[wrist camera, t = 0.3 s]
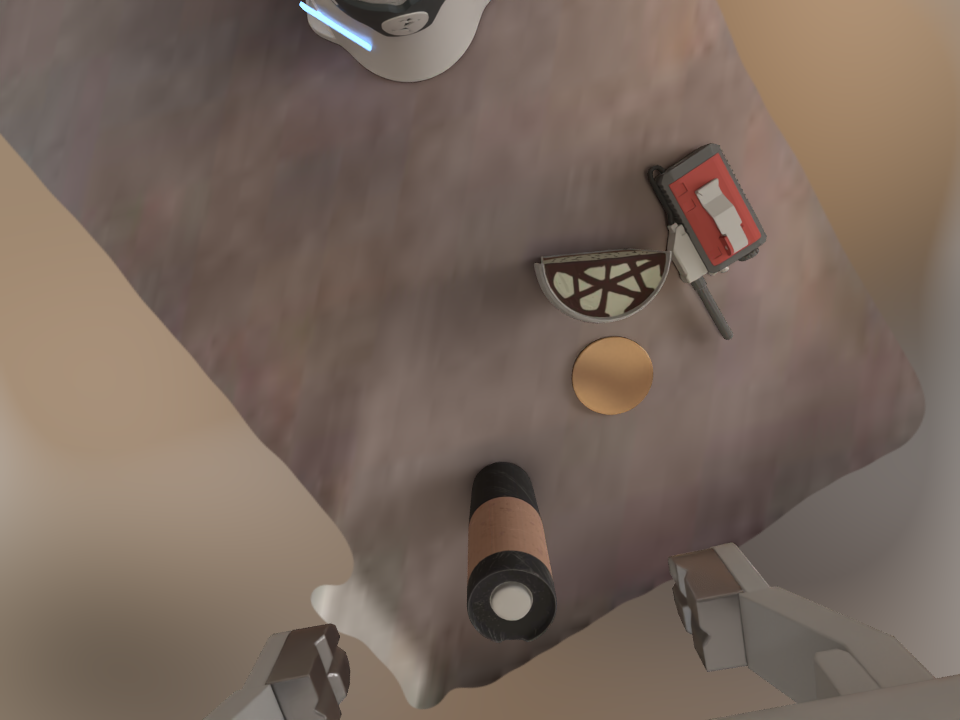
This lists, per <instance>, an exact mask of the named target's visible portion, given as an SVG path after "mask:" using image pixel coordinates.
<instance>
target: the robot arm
mask: <svg viewBox="0 0 960 720" xmlns="http://www.w3.org/2000/svg"><path fill="white" fill-rule="evenodd" d="M490 1H491V0H306V4H304V3H302V2H300V6H301V8H302V9H303V10H305V11H306V12H307V18H308V22H309V24H310V26H311V28H312V30H313V31H314V32H315V33H316V34H317V35H319V36H320V37H322V38H324V39H327V40H329V41H331V42H334V43H337V44H339V45H341V46H342V47H343V48H345V49H346V50H347V51H348V52H349V53H350V54H351V55H352V56H353V57H354V58H355V59H356V60H357V61H358V62H359V63H360V64H361V65H363V66H364V67H365V68H367V69H368V70H370V71H371V72H373V73H375V74H377V75H379V76H381V77H383V78H386V79H390V80H393V81H399V82H417V81H422V80H426V79H430V78H432V77H435V76H437V75H439V74H441V73H443V72H444V71H446V70H447V69H449V68H450V67H451V66H452V65H454V64H455V63H456V62H457V61H458V60H459V59H460V57H461V56H462V55H463V54H464V53H465V51H466V50H467V48H468V47H469V45H470V43H471V41H472V39H473V37H474V35H475V33H476V30H477V27H478V24H479V21H480V18H481V15H482V13H483V10H484V8H485V7H486V5H487V4H488V3H489V2H490ZM668 564H669V571H670V573H671V575H672V577H673V579H674V581H675V584H674V586H673V588H672V589H673V594H674V600H675V603H676V607H677V610H678V614H679V616H680V618H681V621H682V623H683V625H684V627H685V629H686V631H687V632H688V633H690V634H692V635H693V641H694V646H695V649H696V651H697V653H698V655H699V657H700V659H701V661H702V663H703V664H704V666H705V668H706V670H707V672H710V671H716V670H722V669H729V668H736V667H742V666H748V668H749V669H751V670H752V671H753V672H755V673H756V674H757V675H759V676H760V677H762V678H763V679H764V680H766V681H767V682H769V683H770V684H771V685H773V686H774V687H776V688H777V689H779V690H780V691H781V692H782V693H784V694H785V695H787V696H788V697H790V698H791V699H792V700H794V701H795V702H797V703H798V704H792V705H786V706H781V707H775V708H770V709H764V710H759V711H754V712H748V713H742V714H737V715H731V716H726V717H721V718H715V719H710V720H960V674H958V675H953V676H947V677H942V678H935V677H934V676H933V675H932V674H931V673H930V672H929V671H928V670H927V669H926V668H925V667H924V666H923V665H922V664H921V663H920V662H919V661H918V660H917V659H916V658H915V657H914V656H913V655H912V654H911V653H910V652H909V651H908V650H907V649H906V648H905V647H904V646H903V645H902V644H901V643H900V642H899V641H898V640H897V639H896V638H895V637H894V636H891V635H889V634H887V633H884V632H882V631H880V630H877V629H875V628H873V627H871V626H868V625H866V624H863V623H861V622H859V621H856V620H854V619H852V618H849V617H847V616H845V615H843V614H840V613H838V612H835V611H833V610H831V609H829V608H826V607H824V606H822V605H819V604H817V603H815V602H812V601H810V600H807V599H805V598H803V597H801V596H798V595H796V594H794V593H791V592H789V591H787V590H784V589H782V588H780V587H778V586H776V587H770V586H769V585H768V584H767V582H766V581H765V580H764V579H763V578H762V576H761V575H760V574H759V573H758V571H757V570H756V569H755V568H754V567H753V565H752V564H751V563H750V562H749V560H748V559H747V558H746V557H745V555H744V554H743V553H742V552H741V551H740V549H739V548H738V547H737V546H736V544H734V543H728V544H723V545H719V546H714V547H711V548H709V549H704V550H699V551H694V552H689V553H684V554H679V555H674V556H670V557H668ZM339 638H340V635H339V633H338V630H337V628H336V626H335V625H333V624H325V625H320V626H314V627H308V628H303V629H296V630H293V631H287V632H281V633H276V634H273V635H272V636H270V637H269V639H268V640H267V642H266V644H265V646H264V648H263V650H262V652H261V654H260V656H259V657H258V660H257V661H256V663H255V665H254V667H253V669H252V671H251V673H250V675H249V677H248V679H247V681H246V683H245V685H244V687H243V688H242V690H238V691H235V692H234V693H233V694H232V695H231V696H229V697H228V698H227V699H226V700H225V701H224V702H222V703H221V704H220V705H219V706H218V707H217V708H216V709H214V710H213V711H212V712H211V713H210V714H209V715H207V716H206V717H205V718H204V719H203V720H340V717H341V711H340V708H339V704H340V703H341V701H343V699H344V698H345V697H346V696H347V693H348V689H349V685H350V667H349V661H348V658H347V655H346V652H345V651H343V650H342V649H341V648H339V647H338V646H337V644H338V641H339Z"/></svg>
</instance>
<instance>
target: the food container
mask: <svg viewBox="0 0 960 720" xmlns="http://www.w3.org/2000/svg"><path fill="white" fill-rule="evenodd" d="M671 254H672V251H670V250H668V251H656V250H643V249H630V248H627V249H617V250H607V251H596V252H586V253H575V254H565V255H554V256H544V257H541V264H539V263H534V266H535V273H536V276H537V279H538V283H539V285H540V287H541V289H542V291H543V293H544V294H545V296H546V297H547V298H548V300H549V301H550V302H551V303H552V304H553V305H554V306H555V307H556V308H557V309H558V310H560V311H561V312H563V313H564V314H566V315H568V316H570V317H572V318H574V319H577V320H580V321H583V322H589V323H607V322H613V321H618V320H621V319H624V318H627V317H629V316H631V315H633V314H635V313H637V312H638V311H640V310H641V309H643V308H644V307H645V306H646V305H647V304H648V303H649V302H651V301H652V300H653V298H654V297H655V296H656V295H657V293H658V292H659V291H660V289H661V287H662V285H663V284H664V282H665V279H666V277H667V274H668V272H669V267H670V263H671Z"/></svg>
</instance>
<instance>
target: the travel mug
mask: <svg viewBox="0 0 960 720" xmlns="http://www.w3.org/2000/svg"><path fill="white" fill-rule="evenodd" d="M556 610H557V600H556V593H555V588H554V583H553V578H552V572H551V567H550V562H549V556H548V551H547V546H546V541H545V535H544V530H543V525H542V521H541V517H540V513H539V509H538V506H537V502H536V498H535V494H534V491H533V487H532V484H531V481H530V478H529V477H528V475H527V474H526V472H525V471H524V470H523V469H521V468H520V467H518V466H516V465H514V464H511V463H506V462H499V463H494V464H491V465H489V466H487V467H485V468H484V469H482V470H481V471H480V472H479V474H478V475H477V476H476V478H475V480H474V483H473V488H472V497H471V507H470V518H469V533H468V580H467V611H468V615H469V619H470V621H471V623H472V625H473V626H474V628H475V629H476V630H477V631H478V632H479V633H480V634H481V635H482V636H484V637H485V638H487V639H489V640H491V641H493V642H496V643H500V642H502V641H504V640H524V641H526V642H530V641H533V640H535V639H536V638H538V637H540V636H541V635H542V634H543V633H545V632H546V630H547V629H548V628H549V627H550V626H551V624H552V622H553V620H554V618H555V615H556Z"/></svg>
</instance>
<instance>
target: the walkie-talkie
mask: <svg viewBox="0 0 960 720" xmlns="http://www.w3.org/2000/svg"><path fill="white" fill-rule="evenodd" d="M654 170H658V171H659V172H660V174H659V175H658V176H656V178H655V180H654V178H653V171H654ZM647 175H648V180H649V182H650V184H651V185H652V187H653V189H654V191H655V192H656V194H657V196H658V198H659V200H660V201H661V203H662V205H663V207H664V209H665V211H666V213H667V215H668V223H669V225H668V226H667V227H668V229H669V238H668V245H667V251H668V250H670V251H672V254H671V258H672V260H673V262H674V264H675V266H676V267H677V269H678V271H679V273H680V277H681V279H682V281H683V282H685V283H691V284H692V286H693V288H694V290H697V292H698V294H699V296H700V297H701V299H702V301H703V303H704V304H705V306H706V308H707V310H708V311H709V313H710V315H711V317H712V318H713V320H714V322H715V324H716V325H717V327H718V329H719V331H720V332H721V334H722V336H723V338H724V339H726V340H729V339H731V338H732V337H733V333H732V331H731V329H730V328H729V326H728V324H727V322H726V320H725V319H724V317H723V315H722V313H721V312H720V310H719V308H718V306H717V304H716V303H715V301H714V299H713V297H712V295H711V294H710V292H709V290H708V288H707V286H706V284H707V283H706V282H705V280H704V278H703V276H702V275H704V274H706V273H709V275H710V276H713V275H715V274H716V273H717V272H718V271H720V272H721V273H724V272H726V271H728V270H729V268H728V266H729V265H730V264H732V263H734V262H735V261H737V260H739V261H746V260H748V259H750V258H752V257H754V256H755V255H757V254H758V252H759V249H758V247H759V246H761V245H762V244H763V243H764V242H765V241H766V237H767V236H766V234H765V232H764V230H763V228H762V226H761V224H760V222H759V220H758V218H757V216H756V214H755V212H754V210H753V209H752V207H751V205H750V203H749V201H748V199H746V197H745V194H744V193H743V189H741V187H740V184H739V183H738V182H737V181H738V180H737V179H736V178H735V174H733V170H731V168H730V165H729V164H728V160H726V158H725V155H723V153H722V150H721V149H720V145H716V144H713V143H710V144H707V145H705V146H702V147H700V148H698V149H697V150H695V151H694V152H692V153H691V154H689V155H688V156H686V157H685V158H683V159H682V160H680V161H679V162H677V163H676V164H674V165H673V166H671V167H670V168H668V169H667V170H664V168H662V167H661V166H659V165H656V166H653V167H651V168H650V169H649V170H648V173H647Z"/></svg>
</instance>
